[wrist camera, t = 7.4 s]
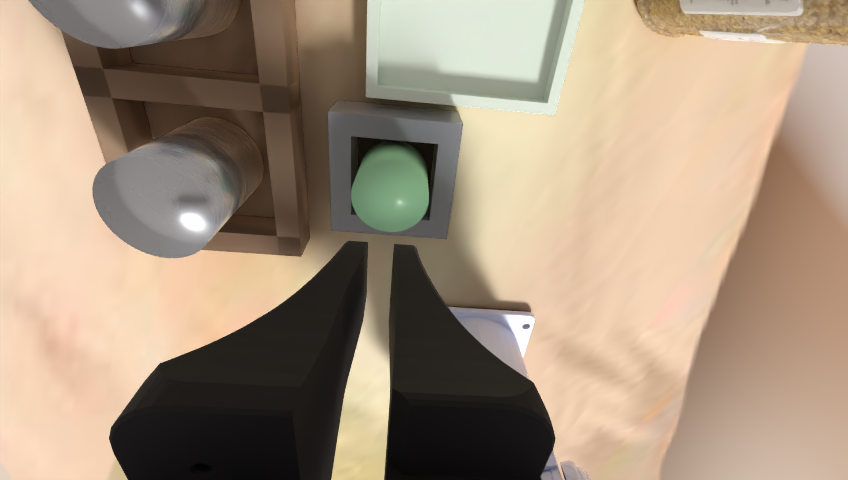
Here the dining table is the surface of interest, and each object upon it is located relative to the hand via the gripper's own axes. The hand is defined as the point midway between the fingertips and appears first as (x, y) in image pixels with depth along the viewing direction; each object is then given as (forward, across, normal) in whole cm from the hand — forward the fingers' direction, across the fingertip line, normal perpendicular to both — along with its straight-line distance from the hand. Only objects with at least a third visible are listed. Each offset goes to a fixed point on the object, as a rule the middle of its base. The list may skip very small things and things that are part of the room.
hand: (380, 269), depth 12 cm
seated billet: (+10, +9, +1) cm, 14 cm away
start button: (+8, 0, 0) cm, 8 cm away
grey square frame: (+10, 0, 0) cm, 10 cm away
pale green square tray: (+10, -3, -8) cm, 13 cm away
